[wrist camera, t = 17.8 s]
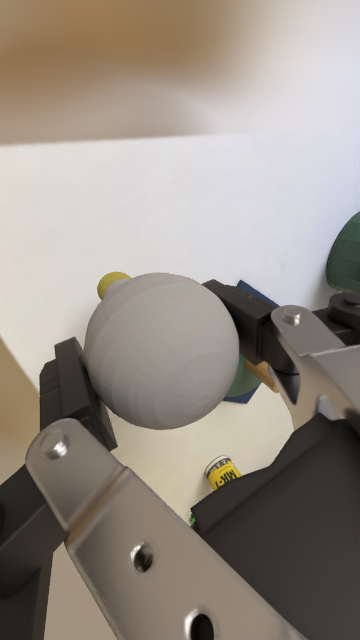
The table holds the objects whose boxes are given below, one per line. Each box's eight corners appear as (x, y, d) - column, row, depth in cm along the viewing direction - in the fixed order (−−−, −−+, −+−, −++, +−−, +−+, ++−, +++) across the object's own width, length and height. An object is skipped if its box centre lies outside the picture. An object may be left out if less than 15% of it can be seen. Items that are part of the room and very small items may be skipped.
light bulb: (164, 303, 17) (273, 404, 9) (89, 338, 15) (145, 495, 7) (140, 224, 13) (278, 277, 6) (43, 258, 12) (58, 390, 4)
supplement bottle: (223, 450, 38) (261, 504, 32) (231, 460, 41) (266, 511, 35) (200, 470, 37) (234, 529, 31) (209, 478, 40) (241, 534, 34)
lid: (189, 385, 26) (219, 424, 22) (243, 298, 24) (288, 322, 20) (246, 395, 33) (277, 426, 29) (292, 328, 31) (333, 351, 27)
